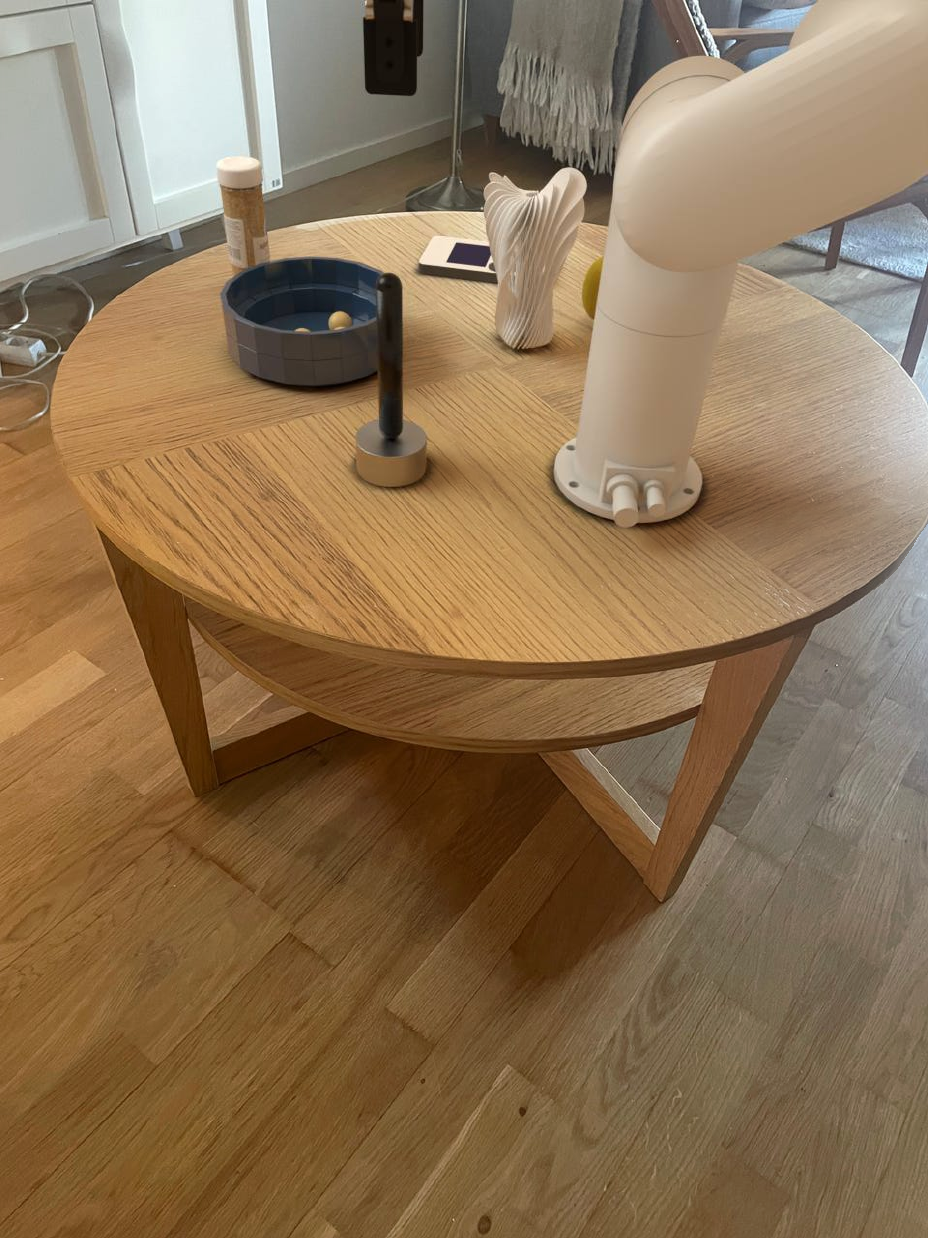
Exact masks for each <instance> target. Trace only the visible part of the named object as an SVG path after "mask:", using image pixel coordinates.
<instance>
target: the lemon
mask: <svg viewBox="0 0 928 1238" xmlns="http://www.w3.org/2000/svg"><path fill="white" fill-rule="evenodd" d="M603 258H604V255H602V256H600V257H598V258H597V259H595V260H594V261H593V262H592V263H591V265H590V266H589V267H588V269H587V271H586V273H585V276H584V278H583V282H582V289H581V303H582V306H583V308H584V311H585V313H586V315H587V316H588V317H590V318H591V319H592V320H593V321H594V318H595V311H596V304H597V297H598V292H599V285H600V278H601V271H602V265H603Z"/></svg>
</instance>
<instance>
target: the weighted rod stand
mask: <svg viewBox="0 0 928 1238" xmlns="http://www.w3.org/2000/svg"><path fill="white" fill-rule="evenodd" d="M403 296H404V295H403V282H402V279H401V277H399V275H397V274H396V273H393V272H384V274H382V275H380V276H379V278H378V279H377V281H376V327H377V367H378V371H377V397H378V399H377V400H378V401H377V402H378V405H377V406H378V419H374V420H372V421H370V422H367V423H365V424H364V425H362V426H361V427H359V429H357V432H356V434H355V440H354V441H355V460H356V462H355V463H356V471H357V473H358V475H359V476H360V477H361V478H362V480H364V481H366V482H367V483H369V484H372V485H375V486H378V487H384V488H400V487H405V486H408V485H412V484H414V483H416V482H418V481H419V480H420V479H422V478H423V476H424V475H425V473H426V471H427V459H428V458H427V455H428V443H427V442H428V436H427V433H426V431H425V430H424V428H422V427H421V426H420V425H418V424H417V423H415V422H413V421H410V420H406V419H404V342H403V341H404V334H403V333H404V331H403V330H404V328H403V327H404V325H403V323H404V322H403V321H404V320H403V319H404V315H403V311H404V305H403V303H404V301H403Z"/></svg>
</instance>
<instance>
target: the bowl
mask: <svg viewBox="0 0 928 1238" xmlns="http://www.w3.org/2000/svg"><path fill="white" fill-rule="evenodd" d="M384 273H385V272H384V271H383V270H382V269H379V268H376V267H374V266H371V265H369V264H367V263H363V262H360V261H356V260H350V259H345V258H340V257H328V256H314V255H313V256H311V255H309V256H297V257H286V258H280V259H275V260H270V261H269V262H265V263H260V264H258V265H255V266H253V267H250V268H248V269H245V270H243V271H241V272H239V273H238V274H236V275H235V276H234V277H233V276H232V277H231V278H230V279H228V280H227V281H226V282H225V283H224V286H223V288H222V289H221V291H220V293H219V298H220V304H221V312H222V317H223V324H224V332H225V338H226V344H227V350H228V356H229V357H230V358H231V359H232V360H233V361H234V362H235V363H236V364H237V365H238V367H239V368H241V369H242V370H244V371H245V372H248V373H250V374H252V375H254V376H256V377H258V378H260V379H263V380H267V381H271V382H272V381H273V382H276V383H280V384H283V385H291V386H299V387H325V386H335V385H339V384H345V383H348V382H352V381H356V380H358V379H362V378H365V377H369V376H370V375H372V374H374V373H376V372H378V367H377V327H376V281H377V279H378V278H379V276H380V275H382V274H384ZM339 311H341V312H345V313H347V314H348V315H349V316H350V318H351V320H352V326H350V327H346V328H342V329H337V330H330V328H329V318H330V317H331V315H332V314H333V313H335V312H339ZM299 328H305V329H308V330H309V331H310V332H306V331H295V330H296V329H299Z"/></svg>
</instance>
